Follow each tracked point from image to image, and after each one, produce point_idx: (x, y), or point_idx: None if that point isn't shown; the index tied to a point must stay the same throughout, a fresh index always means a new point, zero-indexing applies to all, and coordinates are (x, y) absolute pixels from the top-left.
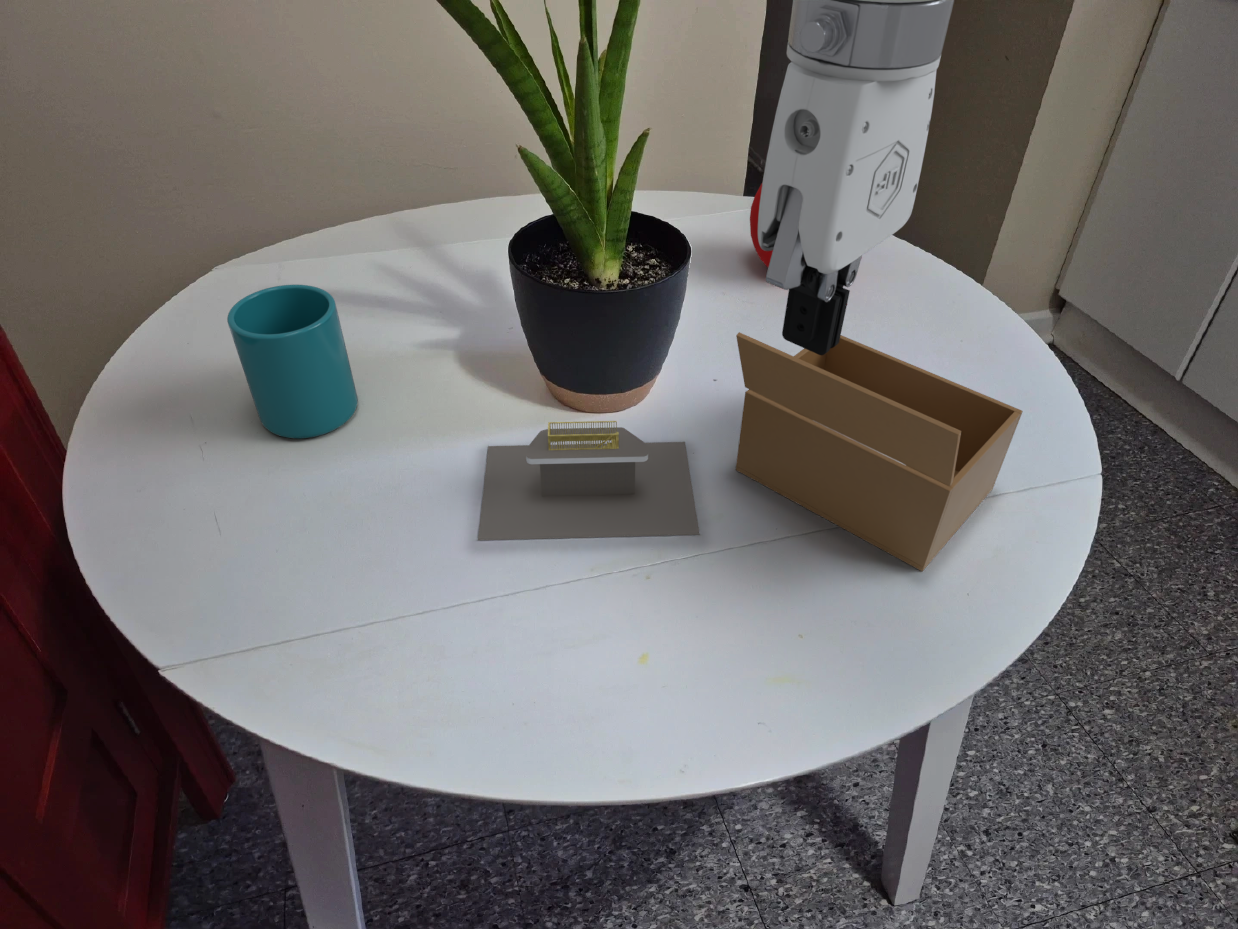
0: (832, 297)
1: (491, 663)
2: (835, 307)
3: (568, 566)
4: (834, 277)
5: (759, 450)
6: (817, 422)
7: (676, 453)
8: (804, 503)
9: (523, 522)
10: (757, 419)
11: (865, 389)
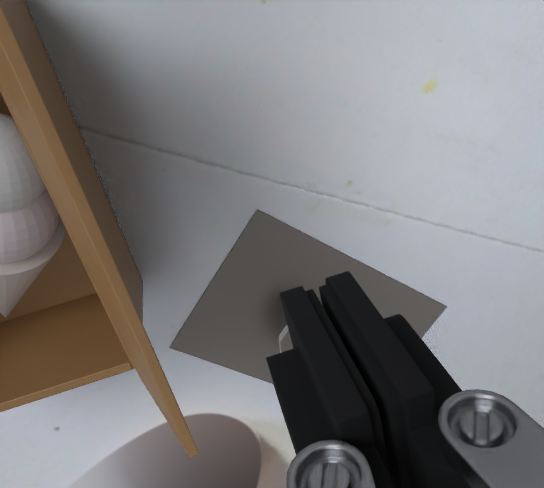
0: (427, 406)
1: (534, 166)
2: (410, 368)
3: (403, 237)
4: (515, 475)
5: (130, 282)
6: (16, 289)
7: (192, 334)
8: (101, 185)
9: (399, 309)
10: None
11: (87, 223)
